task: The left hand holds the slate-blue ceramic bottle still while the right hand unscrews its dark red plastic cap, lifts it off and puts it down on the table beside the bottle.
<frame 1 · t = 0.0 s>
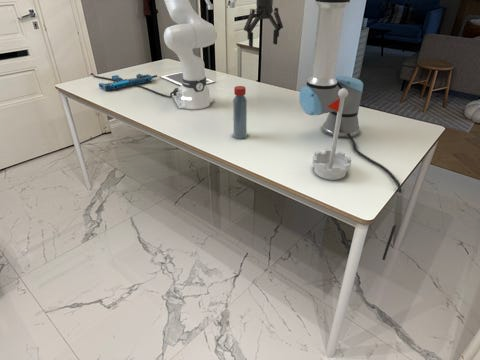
left hand: (221, 8, 129), 48 cm above the table, tool pointing down, fingers open, 8 cm apart
right hand: (263, 45, 167), 28 cm above the table, tool pointing down, fingers open, 13 cm apart
bottle: (240, 136, 146), on the table
submachine gun: (127, 82, 209), on the table
cap: (239, 88, 134), point 21 cm above the table, screwed on, not yet turned
tablet: (187, 79, 214), on the table
flag stand: (329, 171, 121), on the table
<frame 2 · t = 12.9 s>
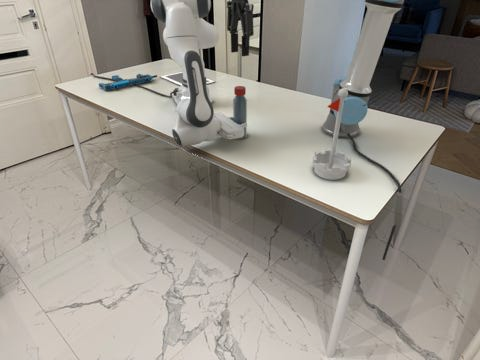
left hand: (241, 121, 142), 7 cm above the table, tool horizontal, fingers closed on bottle, 5 cm apart
right hand: (239, 53, 127), 34 cm above the table, tool pointing down, fingers open, 7 cm apart
bottle: (240, 136, 146), on the table, touching left hand
everything else where it was.
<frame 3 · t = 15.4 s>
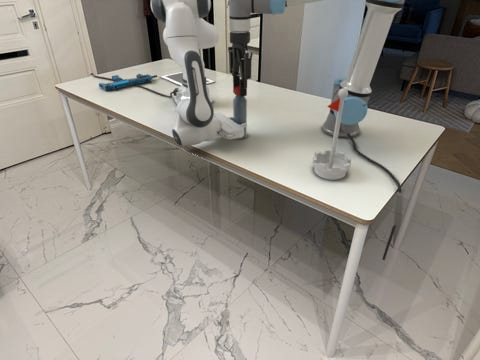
left hand: (241, 121, 142), 7 cm above the table, tool horizontal, fingers closed on bottle, 5 cm apart
right hand: (240, 94, 135), 19 cm above the table, tool pointing down, fingers closed on cap, 4 cm apart
bottle: (240, 136, 146), on the table, touching left hand
cap: (240, 88, 134), point 21 cm above the table, screwed on, not yet turned, touching right hand
everything else where it was.
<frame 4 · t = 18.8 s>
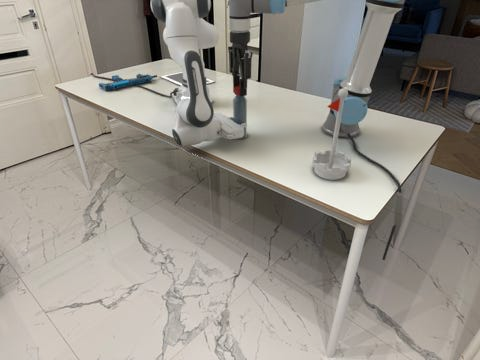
left hand: (241, 121, 142), 7 cm above the table, tool horizontal, fingers closed on bottle, 5 cm apart
right hand: (240, 93, 135), 19 cm above the table, tool pointing down, fingers closed on cap, 4 cm apart
bottle: (240, 136, 146), on the table, touching left hand
cap: (239, 88, 134), point 21 cm above the table, turned 104° so far, risen 0.1 cm, still on its thread, touching right hand
everything else where it was.
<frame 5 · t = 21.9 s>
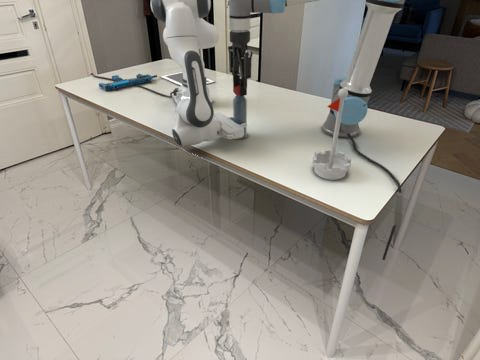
left hand: (241, 121, 142), 7 cm above the table, tool horizontal, fingers closed on bottle, 5 cm apart
right hand: (240, 93, 135), 19 cm above the table, tool pointing down, fingers closed on cap, 4 cm apart
bottle: (240, 136, 146), on the table, touching left hand
cap: (239, 87, 134), point 21 cm above the table, turned 209° so far, risen 0.2 cm, still on its thread, touching right hand
everything else where it was.
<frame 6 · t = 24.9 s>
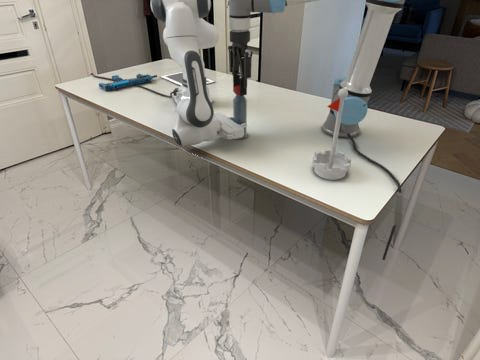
left hand: (241, 121, 142), 7 cm above the table, tool horizontal, fingers closed on bottle, 5 cm apart
right hand: (240, 93, 135), 19 cm above the table, tool pointing down, fingers closed on cap, 4 cm apart
bottle: (240, 136, 146), on the table, touching left hand
cap: (239, 87, 134), point 21 cm above the table, turned 313° so far, risen 0.4 cm, still on its thread, touching right hand
everything else where it was.
when the right hand's fingers open (1 cm above the table, at t = 32.6 s): cap drops 1 cm, point 2 cm above the table.
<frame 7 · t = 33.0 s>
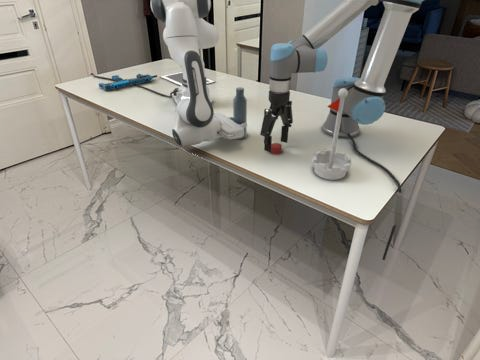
left hand: (241, 121, 142), 7 cm above the table, tool horizontal, fingers closed on bottle, 5 cm apart
right hand: (275, 146, 133), 2 cm above the table, tool pointing down, fingers open, 10 cm apart
bottle: (240, 136, 146), on the table, touching left hand
cap: (275, 146, 133), point 2 cm above the table, off its thread
everything else where it was.
when the left hand's fingers open (7 cm above the table, at t = 34.0 s): bottle stays where it is, on the table.
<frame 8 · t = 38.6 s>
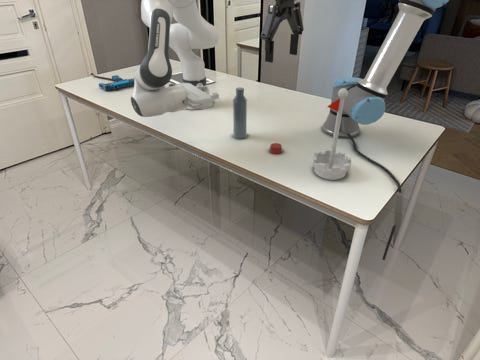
left hand: (212, 91, 128), 22 cm above the table, tool horizontal, fingers open, 8 cm apart
right hand: (281, 58, 114), 36 cm above the table, tool pointing down, fingers open, 13 cm apart
bottle: (240, 136, 146), on the table
everything else where it was.
at the end: cap came off its thread; cap point 2.3 cm above the table; the left hand is holding nothing; the right hand is holding nothing; bottle tilted 0°; bottle moved 0.0 cm from its start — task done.
